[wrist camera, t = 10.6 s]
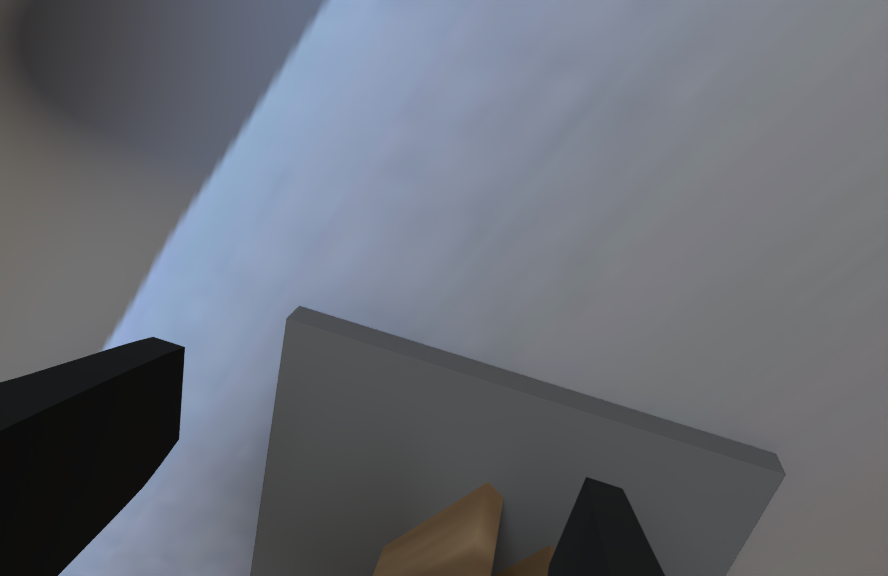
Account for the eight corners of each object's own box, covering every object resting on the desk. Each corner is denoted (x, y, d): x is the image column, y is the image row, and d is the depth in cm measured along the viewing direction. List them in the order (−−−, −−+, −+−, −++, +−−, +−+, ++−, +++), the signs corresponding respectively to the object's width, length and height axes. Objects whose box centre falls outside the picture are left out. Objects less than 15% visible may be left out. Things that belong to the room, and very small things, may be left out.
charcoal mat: (776, 453, 19) (786, 474, 18) (622, 720, 25) (623, 746, 24) (299, 306, 21) (286, 318, 20) (256, 589, 27) (245, 609, 26)
